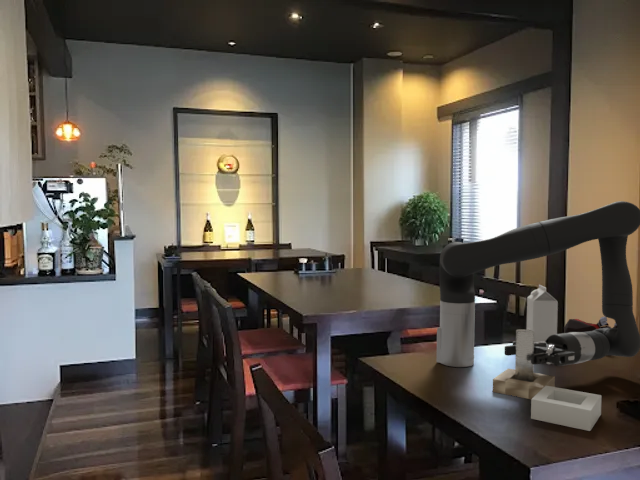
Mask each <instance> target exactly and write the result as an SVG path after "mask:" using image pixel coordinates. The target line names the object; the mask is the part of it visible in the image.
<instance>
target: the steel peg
mask: <svg viewBox="0 0 640 480" xmlns="http://www.w3.org/2000/svg"><path fill="white" fill-rule="evenodd" d="M515 341H516V355H515V364H514V365H515V367H514V370H515V379H516V380H522V381H527V382H533V373H535V372H534V370H535V368H534V367H535V365H534V364H532V363H531V355H532V354H534V331H532V330H527V328H526V329H521V328H520V329H516V330H515Z"/></svg>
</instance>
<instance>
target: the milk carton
mask: <svg viewBox="0 0 640 480" xmlns="http://www.w3.org/2000/svg"><path fill="white" fill-rule="evenodd" d="M558 306H559V303H558V300H557V299H556V298H555V297H554V296H553V295H551V294H550V293H549V292H547V287H546V286H543V285H541V284H538V288H537V289H534V290H532V291H531V292H530V294H529V295H528V296H527V299H526V330H532V331H534V342H539V341H543V342H545V341H546V340H547V338H548V337H549V336H551V335H553V334H558V311H559V310H558V309H559V307H558Z"/></svg>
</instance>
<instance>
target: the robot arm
mask: <svg viewBox="0 0 640 480" xmlns="http://www.w3.org/2000/svg"><path fill="white" fill-rule="evenodd" d="M639 227H640V208H639V207H638V206H637V205H635V204H634V203H632V202H629V201H624V200H621V201H620V200H619V201H614V202H611V203H610V204H609V203H608V204H606V205H603V206H600V207H598V208H594V209H593V210H590V211H587V212H583V213H580V214H574V215H573V214H572V215H567V216H561V217H556V218H551V219H547V220H542V221H537V222H533V223H529V224H524V225H522V226H519V227H516V228H514V229H513V228H512V229H511V230H508V231H506V232H504V233H502V234H500V235H497V236H495V237H492V238H489V239H484V240H483V239H482V240H478V241H472V242H461V241H453V242H450V243H447V245H445V246H444V247H443V249H441V252H440V255H439V294H440V295H439V297H440V299H439V300H440V301H439V303H440V304H439V306H440V307H439V327H437V328H436V363H440V364H441V365H444V366H447V367H448V366H449V367H452V368H453V367H454V368H455V367H456V368H466V367H471V366H473V365H474V364H475V363H474V361H475V321H476V320H475V318H476V317H475V316H476V315H475V313H476V311H475V310H476V307H475V306H476V302H475V301H476V292H475V286H474V285H475V284H474V282H475V281H474V279H475V278H474V274H476V273H478V272H482V271H484V270H486V269H487V270H488V269H489V268H493V267H496V266H500V265H501V266H502V265H507V264H513V263H519V262H524V261H529V260H534V259H535V260H536V259H539V258H543V257H547V256H551V255H555V254H558V253H561V252H564V251H566V250H569V249H571V248H573V247H576V246H579V245H582V244H583V243H587V242H590V241H594V240H598V245H599V251H600V260H601V294H602V295H601V304H602V305H601V310H602V311H601V312H602V315H603V317H607V319H611V320H613V321H614V322H615V323H616V325H617V328H613V327H611V328H600V329H596V330H593V331H588V332H570V333H564V332H562V333H557V334H553V335H551V336H549V337H548V338H547V340H546V341H545V342H543V341H539V342H534V354H532V355H531V363H532V364H534V366H535V365H543V364H547V365H551V364H552V365H553V366H555V367H563V366H569V365H575V364H576V365H577V364H581V363H585V362H588V361H595V360H596V361H597V360H600V359H603V358H605V357H606V356H615V357H623V358H632V357H635V356H636V355H637V354H638V353H639V351H640V332H639V328H638V325H637V321H636V318H635V315H634V311H633V309H634V304H633V303H634V300H633V298H634V297H633V295H634V294H633V293H634V292H633V283H632V278H631V275H630V271H629V267H628V262H627V261H628V260H627V245H628V243H627V242H628V236H630V235H632V234H634V233H635V232H636V231H637V230H638V229H639ZM504 356H516V340H514V341H512V344H511V345H510V344H509V345H506V346H504Z"/></svg>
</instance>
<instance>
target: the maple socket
mask: <svg viewBox="0 0 640 480" xmlns="http://www.w3.org/2000/svg"><path fill="white" fill-rule="evenodd" d="M555 384H556V376H555V375H549V374H544V373H538V372H534V373H533V382H527V381H522V380H516V379H515V368H507V369H505V370H504V371H502V372H501V373H500V374H498V375H497V376H495V377H493V379H492V392H493V393H496V394H501V395H507V396H511V395H512V397H516V396H517V397H518V398H522V399H528V400H531V399H532V398H533V397H534V396H535V395H536V394H537V393H538V392H540V391H541V390H542V389H543V388H544V387H545V386H552V387H556V385H555Z"/></svg>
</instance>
